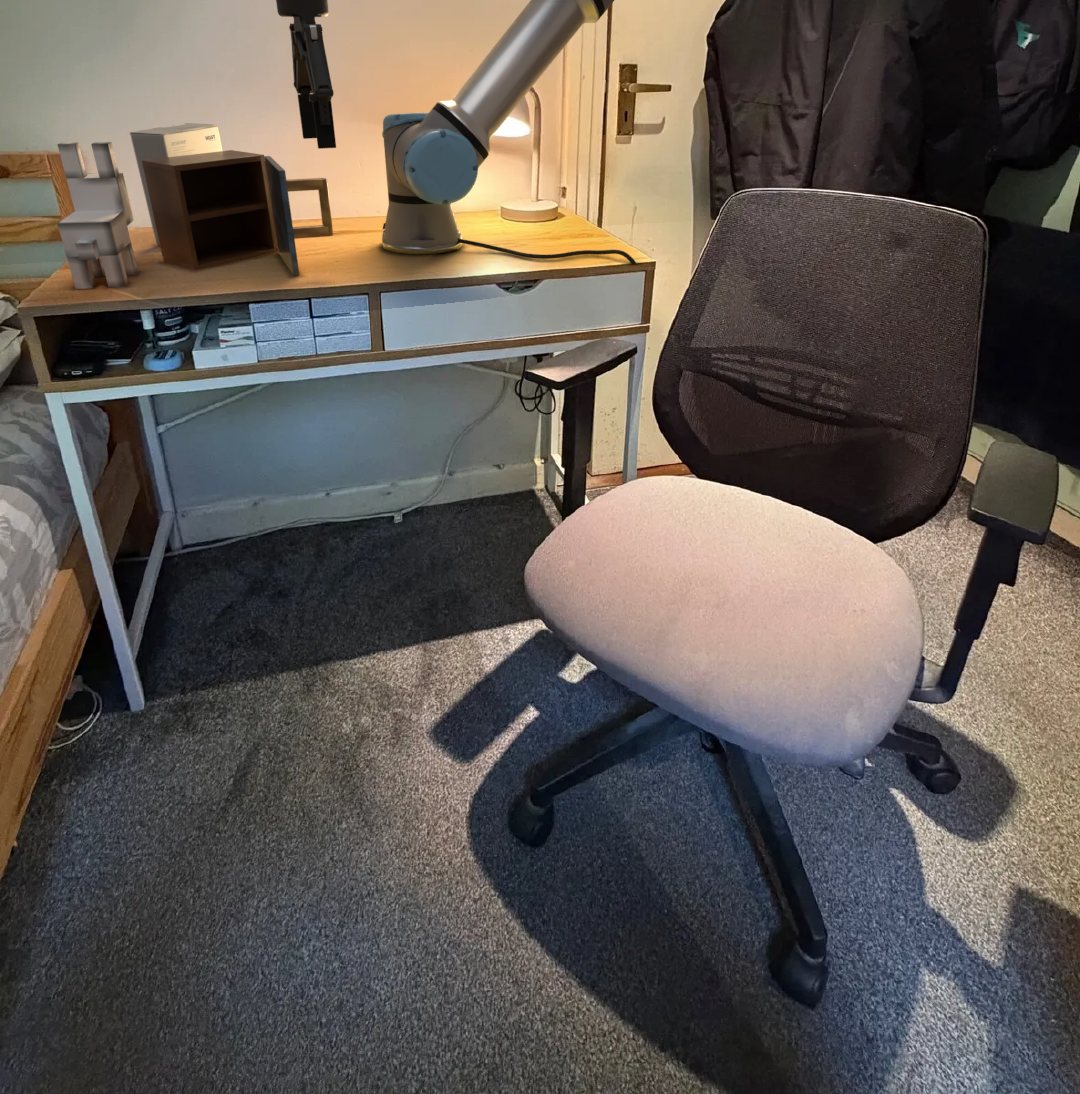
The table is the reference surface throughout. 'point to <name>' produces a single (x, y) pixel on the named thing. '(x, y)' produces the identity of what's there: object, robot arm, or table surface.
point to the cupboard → (211, 208)
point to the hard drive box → (172, 148)
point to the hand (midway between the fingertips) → (319, 143)
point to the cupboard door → (283, 213)
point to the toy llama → (97, 218)
